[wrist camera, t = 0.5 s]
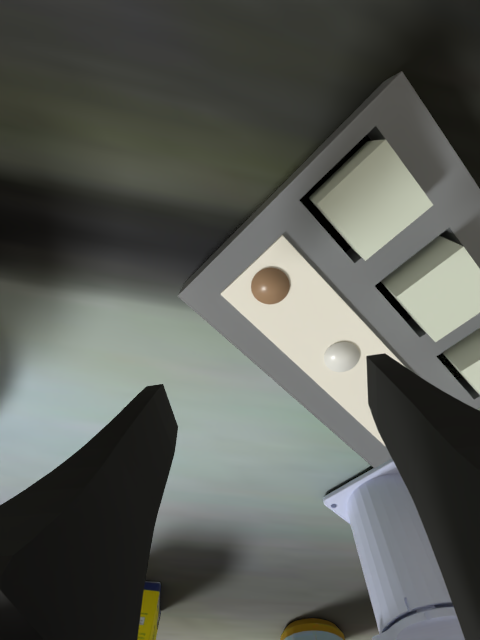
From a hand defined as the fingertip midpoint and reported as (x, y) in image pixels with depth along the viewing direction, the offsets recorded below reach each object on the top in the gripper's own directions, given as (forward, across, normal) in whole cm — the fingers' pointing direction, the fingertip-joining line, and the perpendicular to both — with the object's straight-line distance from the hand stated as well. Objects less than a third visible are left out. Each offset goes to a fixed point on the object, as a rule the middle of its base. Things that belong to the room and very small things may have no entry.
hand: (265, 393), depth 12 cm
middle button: (+8, -9, 0) cm, 12 cm away
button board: (+9, -7, +2) cm, 12 cm away
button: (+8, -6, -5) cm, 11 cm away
